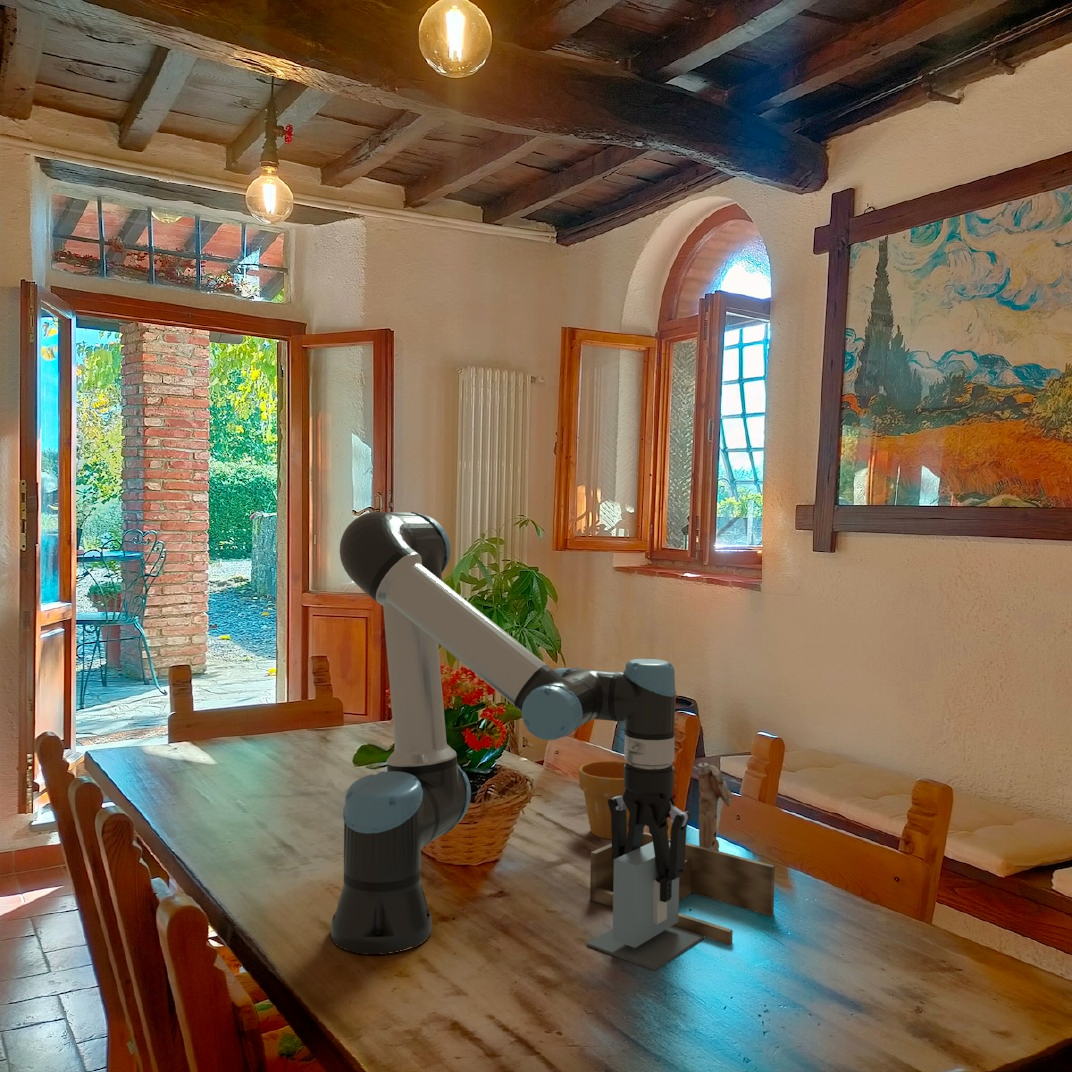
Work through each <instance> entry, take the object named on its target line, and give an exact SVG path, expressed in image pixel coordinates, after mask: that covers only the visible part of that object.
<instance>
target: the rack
mask: <svg viewBox="0 0 1072 1072" xmlns="http://www.w3.org/2000/svg"><path fill="white" fill-rule="evenodd" d="M668 840H669V842H670V838H669V837H668ZM651 842H653V840H652V835H651V834H650V832H646V831H643V835H642V840H641V845H640V847H642V846H644V845H646V844H649V843H651ZM775 868H776V867H775V865H773V864H770V863H765V862H763V861H762V862H761V861H758V860H754V859H750V858H747V857H746V858H745V857H742V856H739V855H735V854H731V853H728V852H724V851H720V850H719V851H716V850H712V849H709V848H705V847H701V846H699V845H696V844H693V843H688V842H686V846H685V866H684V874H683V875H682V876H680V877H679V901H680V900H682V899H684V898H686V897H687V896H689V895H691V894H695V895H698V896H701V897H705V898H708V899H711V900H715V901H719V902H721V903H725V904H728V905H732V906H735V907H738V908H741V909H745V910H748V911H752V912H753V913H754V912H755V913H758V914H762V915H764V916H768V917H772V916H773V915H774V913H775V908H774V907H775ZM589 882H590V883H589V886H590V887H589V888H590V889H589V897H590V898H589V899H590V901H593V902H597V903H600V904H603V905H606V906H609V907H611V908H613V882H614V863H613V861H612V842H610V843H609V844H606V845H605V846H602V847H600V848H597V849H595V850H593V851H591V852H590V879H589ZM673 926H676V927H679V928H682V929H685V930H688V931H691V932H694V933H697V934H700V935H703V936H704V938H706V939H710V940H714V941H715V942H718V943H722V944H725V945H728V946H730V945H732V944H733V931H734V930H733V929H732V928H729V927H724V926H722V925H719V924H715V923H712V922H709V921H706V920H704V919H700V918H697V917H694V916H690V915H687V914H683V913H681V912H679V916H678V923H676V924H674V925H673Z"/></svg>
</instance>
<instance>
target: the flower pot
mask: <svg viewBox="0 0 1072 1072" xmlns="http://www.w3.org/2000/svg"><path fill="white" fill-rule="evenodd" d="M626 762H627V761H619V760H601V761H600V760H599V761H598V760H597V761H592V762H587V763H585V764H582V765H581V766H580V767H579V769H578V775H579V776H578V777H579V781H578V784H579V788H580V789H581V790H582V791H583V796H584V800H585V806H586V812H587V818H588V824H589V829H590V832H591V834H592V835H593V836H596V837H597V838H601V839H605V838H606V839H607V840H612V834H611V812H610V808H609V805H608V800H609V799H611V798H613V797H616V796H623V793H624V792H625V787H624V765H625V764H626ZM626 815H627V835H628V830H629V827H628V821H629V816H630V813H629V811H628V809H627V807H626ZM606 839H605V840H606Z"/></svg>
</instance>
